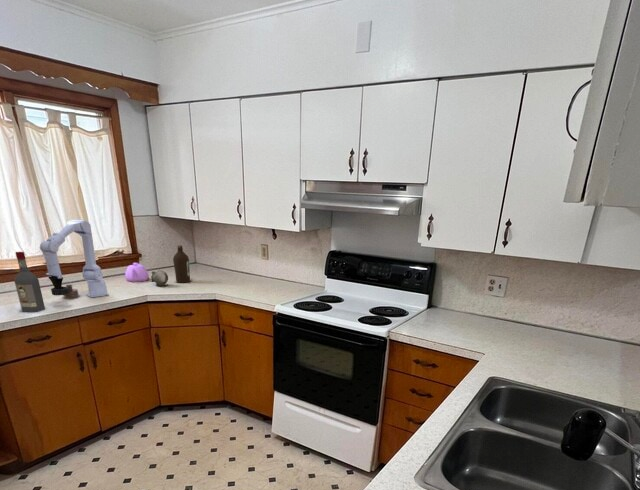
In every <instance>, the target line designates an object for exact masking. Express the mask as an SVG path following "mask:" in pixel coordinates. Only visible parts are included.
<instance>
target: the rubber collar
mask: <svg viewBox="0 0 640 490" xmlns="http://www.w3.org/2000/svg"><path fill="white" fill-rule="evenodd" d="M50 291H51V294H52V296H63V295H67V294H70V290H69V287H66V286H62V289H56V287H55V288H54V287H52V288H50Z"/></svg>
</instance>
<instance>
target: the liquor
mask: <svg viewBox="0 0 640 490" xmlns="http://www.w3.org/2000/svg"><path fill="white" fill-rule="evenodd" d="M15 257H16V260H17V263H18V267H19V272H18V273H17V274H16V276H15V277H14V286H15V289H16V293H17V297H18V301H19V305H20V308H21V311H23V312H24V313H38V312H40V311H43V310H45V308H46V306H45V302H44V297H43V293H42V289H41V285H40V280H39V278H38V277H37V276H36V275H35V274H34V273H33V272H31V271H30V269H29V268H28V264H27V261H26V254H25V252H24V251H15Z"/></svg>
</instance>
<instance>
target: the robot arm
mask: <svg viewBox="0 0 640 490" xmlns="http://www.w3.org/2000/svg"><path fill="white" fill-rule="evenodd" d="M73 232H74V233H76V234H78V236H80V238H81V241H82V248H83V254H84V261H85V265H84V266H83V267H82V277H83V279H84V280H85V281H86V284H87V288H88V293H87V294H86V296H88V297H91V298H98V297H105V296H109V294H108V289H107V284H106V281H105V279H103V277H104V273H103V272H102V268H101V267H100V266H99V265H98V264H97V261H96V260H97V259H96V253H95V245H94V239H93V232H92V225H91V223H90V222H89V221H88V220H85V219H82V220H81V219H69V220H67V222H66V225H65V226H64V227H63V228H62V229H61V230H60V231H59V232H53V233H52V235H51V236H49V237H48V238H47V239H46V240H43V241H41V242H40V244H39V250H40V251H41V253H42V254H43V256H44V260H45V265H46V268H47V272H46V273H45V275H46V276H48V277H47V278H48V279H49V280H50V282H51V284H52V285H53V288H55V287H56V289H62V287H63V281H64V277H63V274H62V272H61V266H60V262H59V258H58V252H59V248H60V246H62V245H63V244H64V243H65V242H66V238H67V237H68V236H70V235H71V234H72V233H73Z"/></svg>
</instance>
